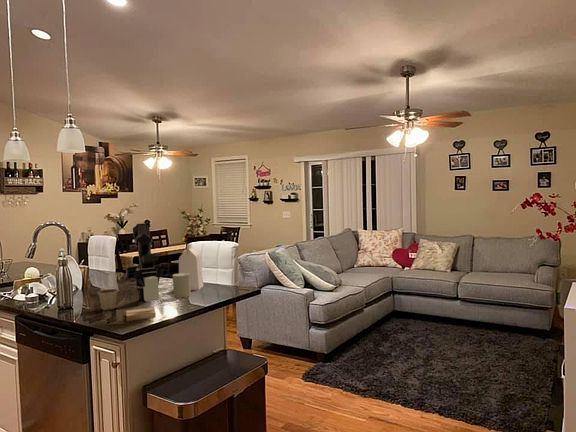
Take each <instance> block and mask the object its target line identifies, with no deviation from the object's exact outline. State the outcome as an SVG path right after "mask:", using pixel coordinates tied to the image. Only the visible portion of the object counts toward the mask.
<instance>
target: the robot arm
mask: <svg viewBox="0 0 576 432" xmlns="http://www.w3.org/2000/svg"><path fill="white" fill-rule="evenodd" d="M150 233H151V232H150V227H149V226H148V225H147V223H145V222H144V223H143V222H142V223H136V225H135V226H134V227H132V237H133V238H134V242H135V243H134V244H135V248H136V249H137V254H138V264H139V267H137V266H135V265H134V266H128V267H126V271H125V272H126V273H125V276H126V279H128V280H131V279H133V280H135V288H136V291H137V292H138V293H137V297H138V299H137V300H136V302H142V303H144V302H145V303H146V301H145V300H144V289H143V287H145V284H144V280H143V277H151V276H152V273H156V274H155V276H156V277H158V285H159V284H160V278H161V277H163V276H164V275H168V274H169V272H170V268H171V267H170V266H171V265H170V264H169V263H167V262H165V263H164V262H163V263H159V266H156V267H155V265H156V263H155V262H156V261H158V260H159V253H158V252H154V253H152V252H151V250H152V246H153V245H154V243H155V242H154V240H153V239H152V238H151V236H150Z"/></svg>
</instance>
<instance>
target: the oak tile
mask: <svg viewBox="0 0 576 432" xmlns="http://www.w3.org/2000/svg"><path fill="white" fill-rule="evenodd" d="M125 313H126V315H125V316H126V322H129V321H137V320H145V319H153V318H156V317H157V315H156V310H155V307H154V306H151V307H143V308H135V309H134V308H133V309H127V310H126V311H125Z"/></svg>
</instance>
